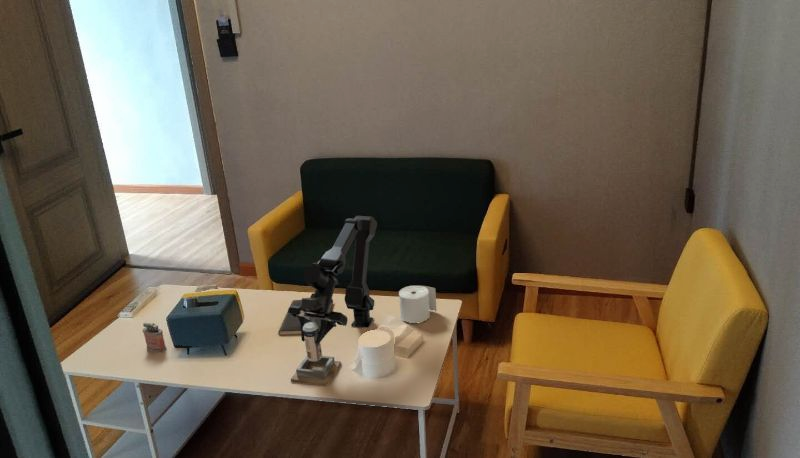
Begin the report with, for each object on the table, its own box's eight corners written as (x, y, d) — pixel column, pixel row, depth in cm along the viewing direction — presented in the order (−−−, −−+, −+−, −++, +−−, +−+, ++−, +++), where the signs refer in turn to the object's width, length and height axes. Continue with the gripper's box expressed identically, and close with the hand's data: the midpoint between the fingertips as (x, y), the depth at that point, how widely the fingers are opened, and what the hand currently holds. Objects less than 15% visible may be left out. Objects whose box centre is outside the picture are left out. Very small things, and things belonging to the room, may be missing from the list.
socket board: (306, 360, 202) (305, 351, 201) (341, 364, 199) (340, 354, 197) (290, 381, 191) (289, 372, 190) (326, 386, 188) (325, 376, 187)
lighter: (169, 348, 215) (163, 323, 212) (161, 353, 213) (155, 327, 209) (151, 344, 219) (145, 319, 215) (144, 349, 216) (138, 324, 212)
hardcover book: (333, 304, 239) (332, 298, 239) (323, 335, 218) (322, 329, 217) (292, 305, 241) (291, 300, 240) (278, 336, 219) (277, 330, 218)
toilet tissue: (394, 318, 224) (392, 294, 221) (415, 305, 232) (413, 281, 229) (417, 327, 217) (415, 301, 214) (438, 313, 226) (436, 288, 222)
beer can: (323, 361, 192) (318, 327, 187) (307, 363, 191) (302, 330, 186) (321, 352, 196) (317, 319, 192) (306, 355, 195) (301, 322, 191)
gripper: (286, 282, 192) (271, 331, 187) (339, 289, 185) (325, 340, 179) (302, 293, 201) (289, 340, 196) (353, 300, 194) (340, 349, 189)
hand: (310, 342), depth 190 cm, fingers closed on beer can, 5 cm apart
